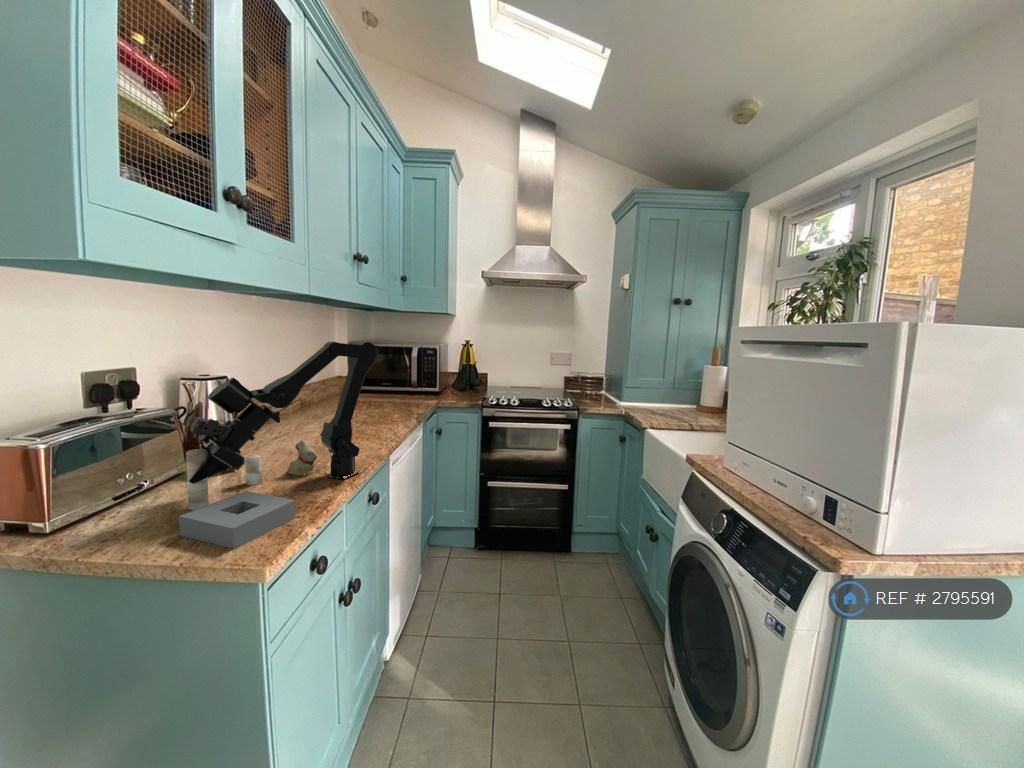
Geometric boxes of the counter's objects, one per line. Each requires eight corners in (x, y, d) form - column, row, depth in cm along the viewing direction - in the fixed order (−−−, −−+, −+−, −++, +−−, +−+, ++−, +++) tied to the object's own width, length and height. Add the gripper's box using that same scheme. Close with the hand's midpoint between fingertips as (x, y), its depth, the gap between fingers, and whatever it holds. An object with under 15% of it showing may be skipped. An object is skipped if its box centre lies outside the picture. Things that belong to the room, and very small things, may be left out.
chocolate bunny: (300, 478, 110) (299, 443, 109) (284, 472, 114) (283, 438, 113) (318, 473, 114) (318, 439, 113) (303, 467, 118) (302, 435, 117)
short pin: (254, 479, 107) (254, 454, 106) (265, 481, 106) (264, 456, 105) (242, 484, 104) (241, 458, 103) (253, 486, 103) (252, 460, 102)
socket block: (246, 507, 90) (246, 490, 90) (295, 517, 86) (295, 500, 86) (180, 535, 77) (179, 516, 76) (234, 548, 73) (233, 528, 72)
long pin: (201, 502, 92) (198, 448, 90) (212, 504, 91) (210, 450, 89) (184, 508, 88) (181, 452, 87) (196, 511, 87) (193, 454, 86)
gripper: (208, 399, 96) (149, 450, 90) (224, 410, 84) (158, 471, 77) (246, 426, 103) (195, 476, 96) (268, 440, 90) (210, 499, 83)
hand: (189, 480), depth 88 cm, fingers closed on long pin, 4 cm apart
